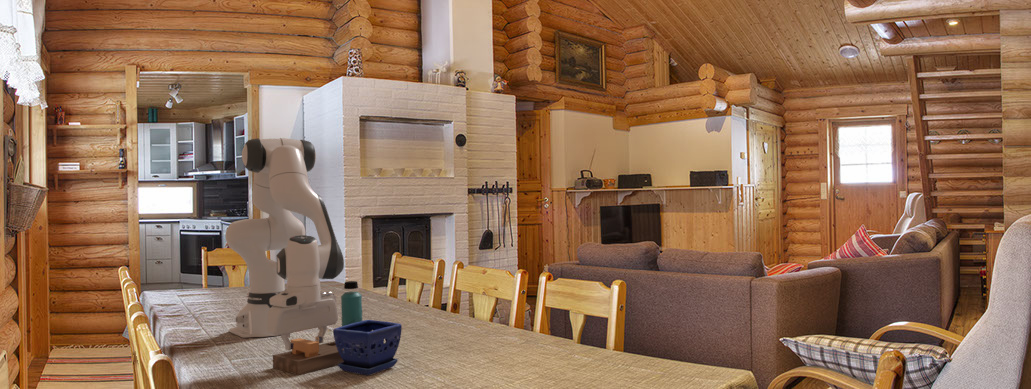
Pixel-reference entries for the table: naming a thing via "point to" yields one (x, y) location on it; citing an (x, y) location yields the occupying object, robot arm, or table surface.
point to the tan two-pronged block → (305, 347)
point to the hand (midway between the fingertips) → (304, 346)
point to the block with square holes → (308, 360)
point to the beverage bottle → (351, 304)
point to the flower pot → (367, 346)
